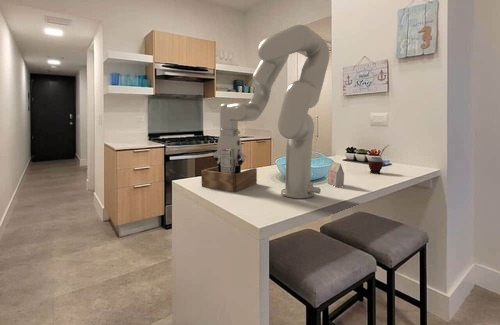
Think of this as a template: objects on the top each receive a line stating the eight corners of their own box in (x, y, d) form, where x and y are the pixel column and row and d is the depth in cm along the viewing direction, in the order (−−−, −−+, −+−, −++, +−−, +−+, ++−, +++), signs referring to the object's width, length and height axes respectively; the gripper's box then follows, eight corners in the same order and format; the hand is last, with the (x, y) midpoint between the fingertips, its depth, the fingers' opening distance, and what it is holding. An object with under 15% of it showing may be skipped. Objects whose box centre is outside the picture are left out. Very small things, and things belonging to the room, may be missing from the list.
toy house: (335, 183, 138) (336, 161, 136) (343, 186, 131) (344, 163, 130) (327, 183, 137) (328, 161, 135) (335, 187, 130) (336, 164, 129)
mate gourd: (364, 172, 162) (366, 144, 160) (375, 171, 166) (377, 143, 163) (376, 175, 156) (378, 145, 153) (387, 173, 159) (389, 144, 156)
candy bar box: (227, 182, 139) (227, 146, 137) (238, 182, 138) (237, 146, 136) (220, 188, 129) (219, 149, 126) (231, 188, 128) (231, 149, 125)
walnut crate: (256, 183, 136) (256, 168, 135) (235, 192, 122) (235, 174, 121) (225, 179, 145) (224, 164, 144) (201, 186, 131) (201, 170, 130)
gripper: (251, 133, 128) (251, 174, 131) (218, 131, 137) (218, 170, 140) (241, 134, 122) (241, 177, 125) (207, 132, 131) (208, 172, 134)
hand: (229, 173), depth 133 cm, fingers open, 8 cm apart
